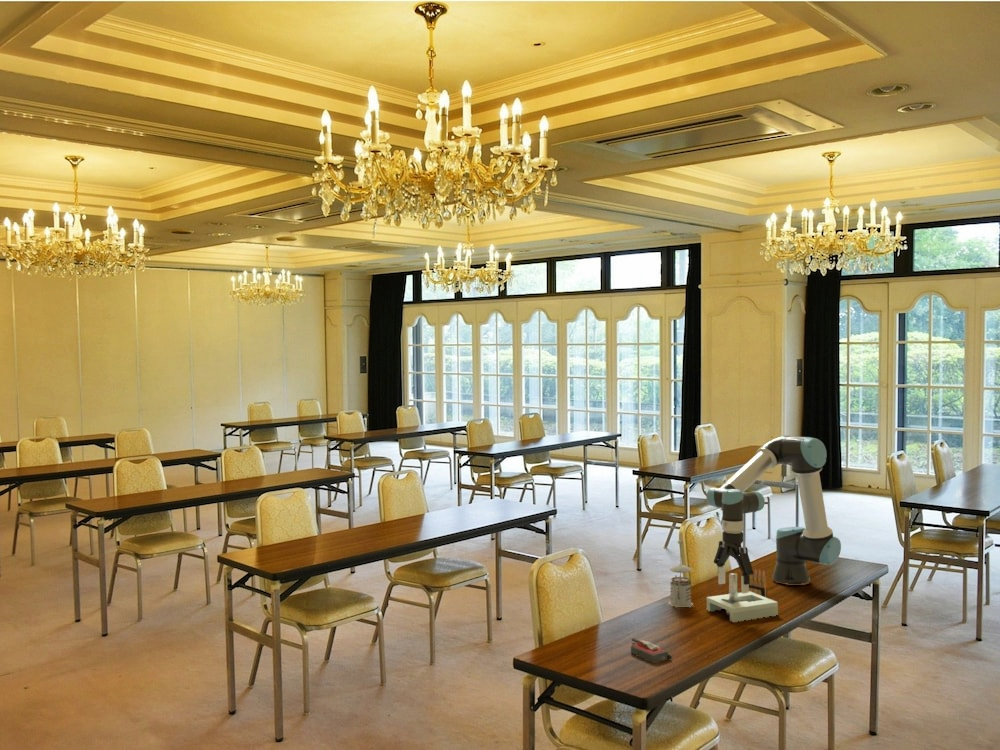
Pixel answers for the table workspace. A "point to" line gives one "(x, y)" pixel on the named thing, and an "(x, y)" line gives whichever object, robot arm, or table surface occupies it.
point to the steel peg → (732, 589)
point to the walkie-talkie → (649, 651)
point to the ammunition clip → (758, 583)
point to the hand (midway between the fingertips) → (733, 588)
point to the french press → (680, 586)
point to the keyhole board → (744, 606)
